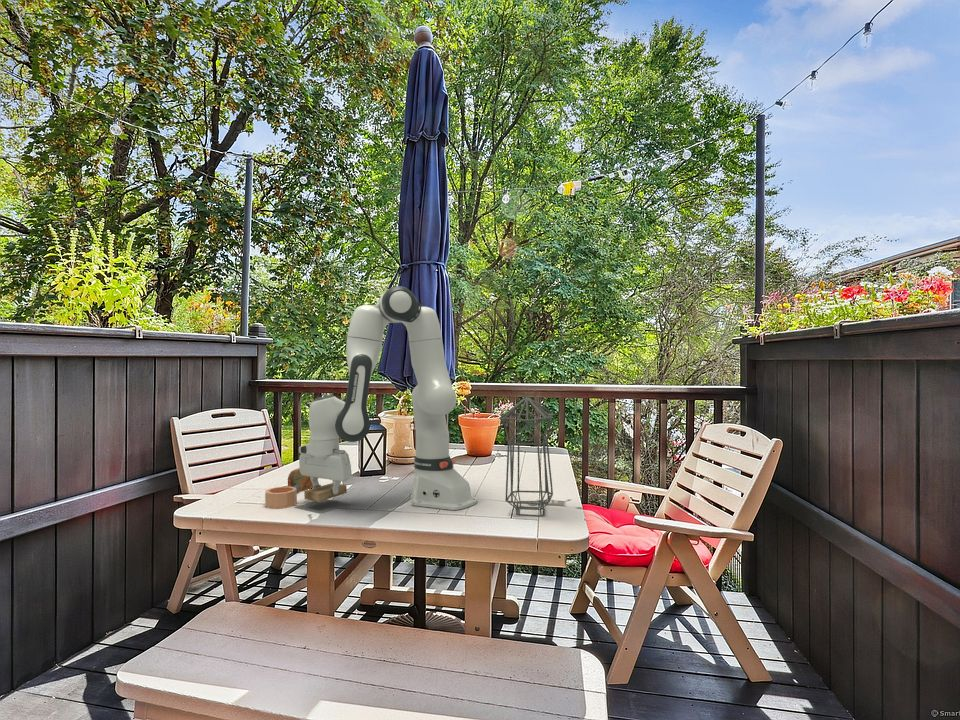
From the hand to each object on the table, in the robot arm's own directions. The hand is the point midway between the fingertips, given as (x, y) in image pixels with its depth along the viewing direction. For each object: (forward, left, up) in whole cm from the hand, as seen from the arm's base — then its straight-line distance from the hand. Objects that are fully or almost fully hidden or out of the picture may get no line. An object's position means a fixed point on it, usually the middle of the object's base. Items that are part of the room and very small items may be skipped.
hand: (325, 492), depth 155 cm
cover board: (0, 0, -1) cm, 1 cm away
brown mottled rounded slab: (+22, -9, -5) cm, 25 cm away
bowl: (+12, +7, -5) cm, 15 cm away
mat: (0, +1, -5) cm, 5 cm away
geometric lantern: (-56, -29, -5) cm, 63 cm away
